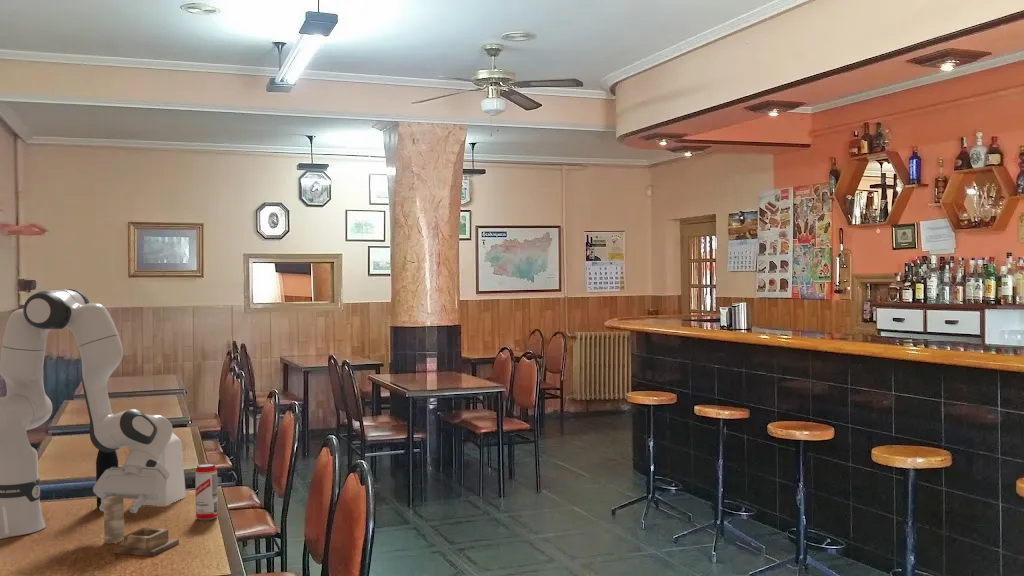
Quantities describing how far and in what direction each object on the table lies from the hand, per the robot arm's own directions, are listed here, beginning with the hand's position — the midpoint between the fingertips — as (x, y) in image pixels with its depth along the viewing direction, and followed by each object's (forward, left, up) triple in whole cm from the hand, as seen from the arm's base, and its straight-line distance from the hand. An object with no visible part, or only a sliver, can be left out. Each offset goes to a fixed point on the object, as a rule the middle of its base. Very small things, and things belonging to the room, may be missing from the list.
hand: (117, 511), depth 249 cm
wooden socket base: (+12, -7, -8) cm, 16 cm away
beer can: (+16, +23, -8) cm, 29 cm away
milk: (-8, +43, -8) cm, 44 cm away
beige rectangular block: (0, -1, -8) cm, 8 cm away
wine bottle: (-21, +35, -8) cm, 42 cm away
